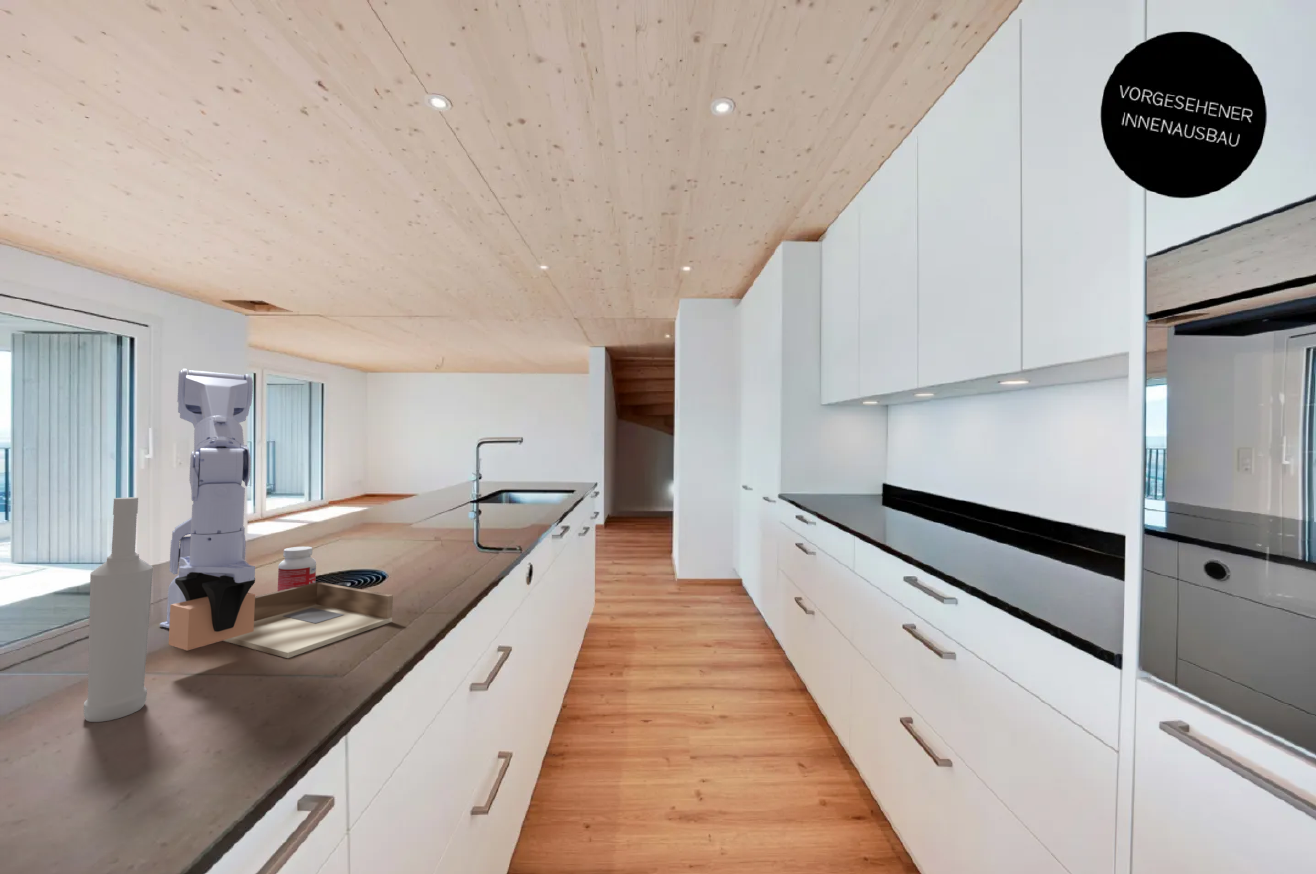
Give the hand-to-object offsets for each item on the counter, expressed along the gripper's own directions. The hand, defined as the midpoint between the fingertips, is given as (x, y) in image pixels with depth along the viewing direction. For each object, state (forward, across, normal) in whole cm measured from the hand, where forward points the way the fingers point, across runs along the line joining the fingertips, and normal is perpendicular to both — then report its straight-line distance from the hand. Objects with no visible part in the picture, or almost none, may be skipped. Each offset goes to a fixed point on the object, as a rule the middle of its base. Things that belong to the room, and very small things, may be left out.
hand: (213, 626), depth 73 cm
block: (+2, 0, 0) cm, 2 cm away
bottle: (+6, +5, -12) cm, 14 cm away
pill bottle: (+6, -18, +23) cm, 30 cm away
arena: (+6, -3, +15) cm, 16 cm away
